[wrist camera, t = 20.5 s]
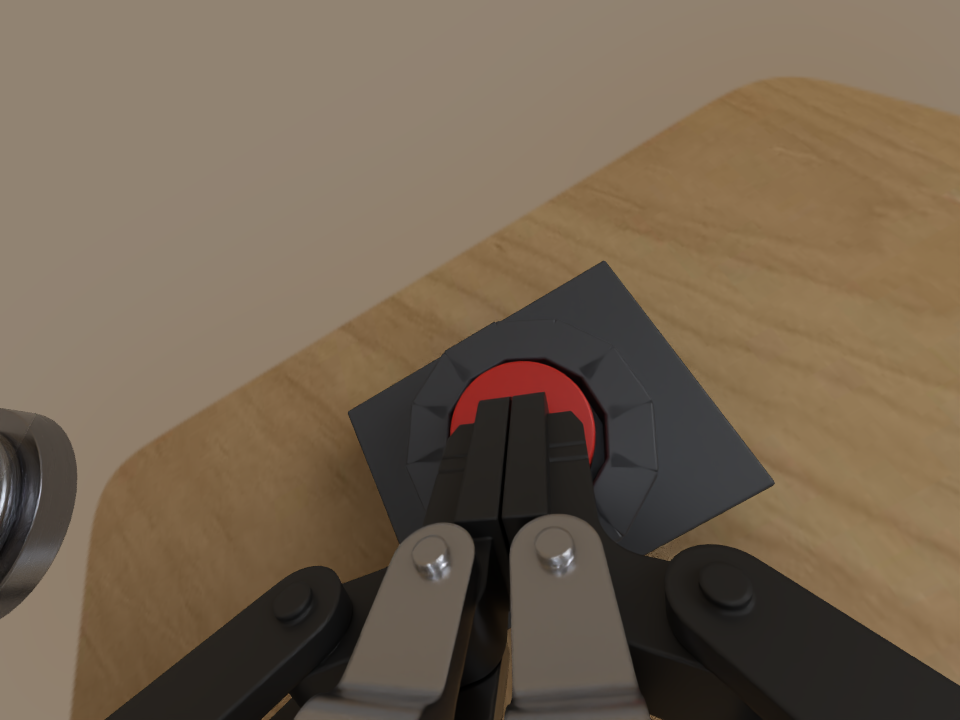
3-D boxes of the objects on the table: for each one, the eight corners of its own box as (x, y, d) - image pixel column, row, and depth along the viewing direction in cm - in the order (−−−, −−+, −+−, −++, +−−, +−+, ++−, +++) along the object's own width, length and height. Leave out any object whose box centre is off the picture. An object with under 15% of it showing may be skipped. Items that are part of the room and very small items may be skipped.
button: (508, 529, 12) (489, 536, 10) (454, 420, 14) (426, 404, 11) (619, 467, 12) (626, 460, 10) (553, 363, 14) (546, 334, 11)
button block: (474, 630, 15) (421, 690, 10) (386, 426, 18) (314, 400, 13) (738, 487, 14) (809, 481, 10) (602, 300, 17) (606, 226, 13)
